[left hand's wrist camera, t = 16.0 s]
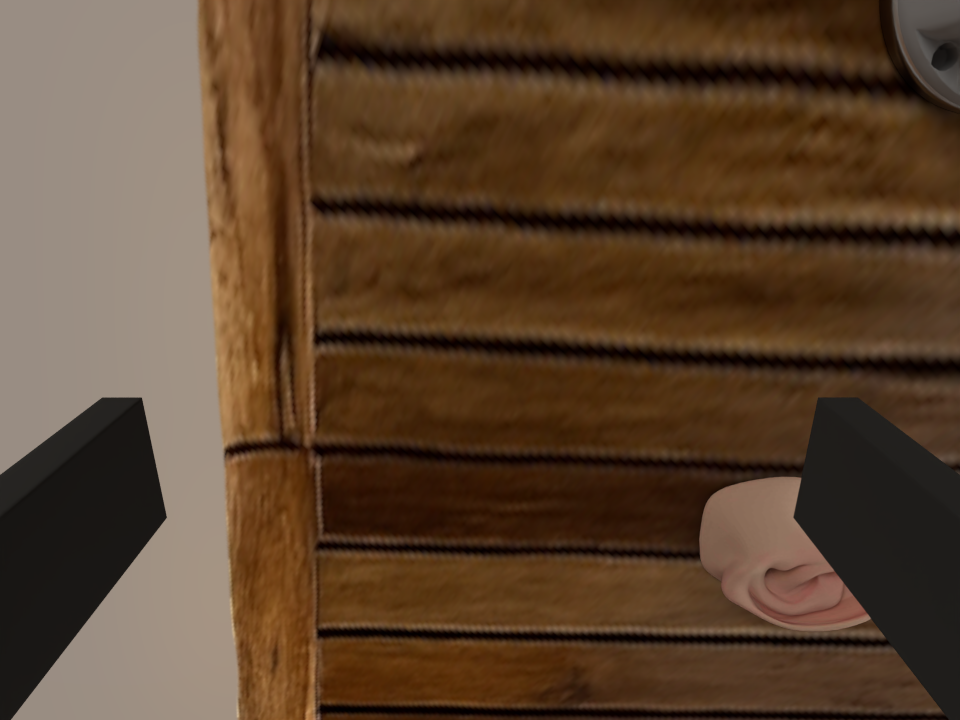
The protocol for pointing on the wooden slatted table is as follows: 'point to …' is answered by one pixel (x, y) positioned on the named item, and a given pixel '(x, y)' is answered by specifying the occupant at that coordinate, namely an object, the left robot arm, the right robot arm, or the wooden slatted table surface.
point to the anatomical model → (773, 558)
